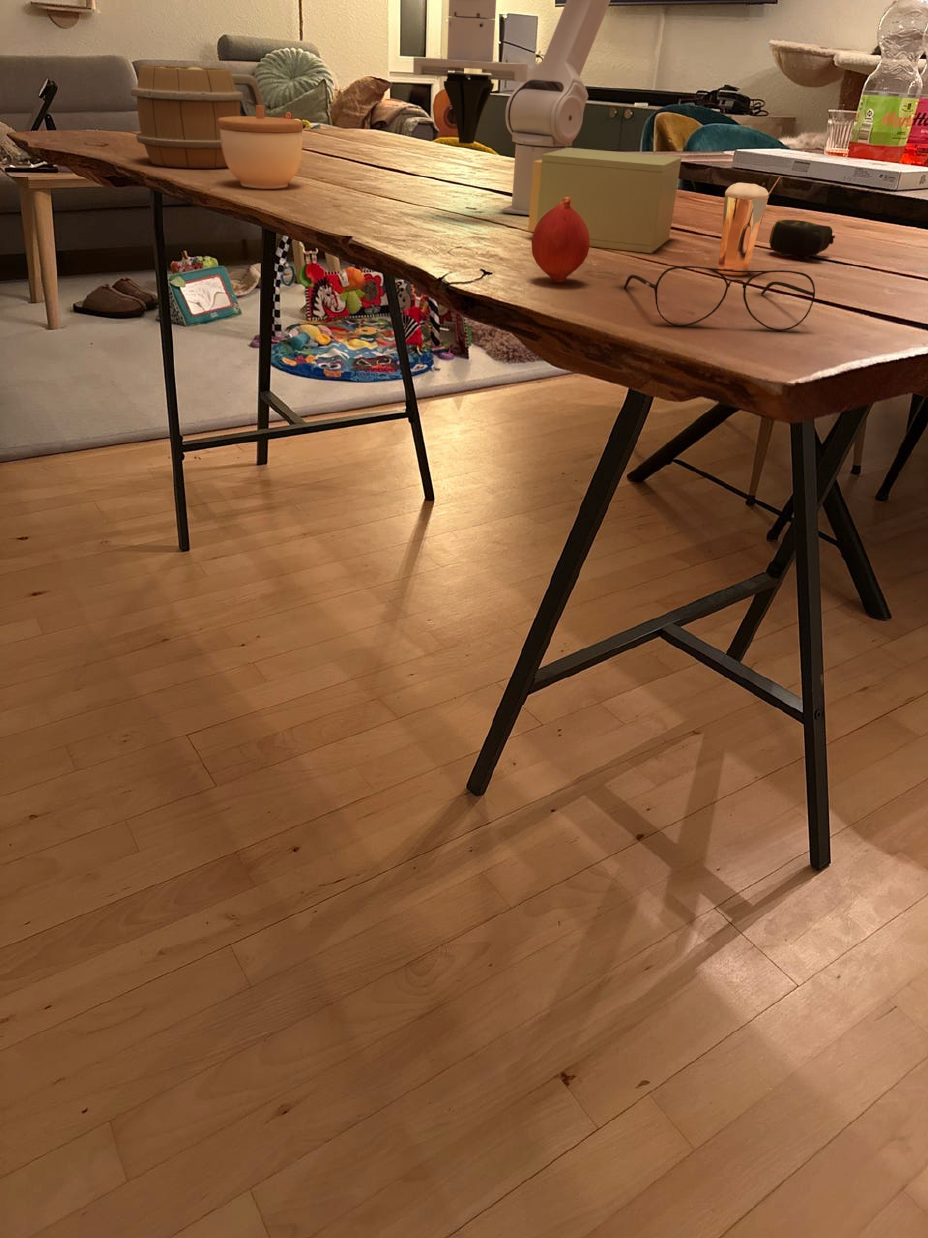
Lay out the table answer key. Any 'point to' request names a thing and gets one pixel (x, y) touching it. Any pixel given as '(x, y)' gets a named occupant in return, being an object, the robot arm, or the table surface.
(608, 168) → the cabinet
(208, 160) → the mug
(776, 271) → the glasses
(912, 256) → the table surface
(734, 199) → the milkshake
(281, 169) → the lidded bowl
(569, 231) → the onion
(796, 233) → the tape measure
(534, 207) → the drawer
